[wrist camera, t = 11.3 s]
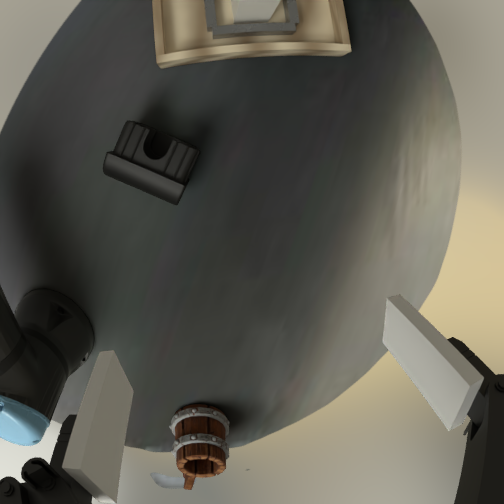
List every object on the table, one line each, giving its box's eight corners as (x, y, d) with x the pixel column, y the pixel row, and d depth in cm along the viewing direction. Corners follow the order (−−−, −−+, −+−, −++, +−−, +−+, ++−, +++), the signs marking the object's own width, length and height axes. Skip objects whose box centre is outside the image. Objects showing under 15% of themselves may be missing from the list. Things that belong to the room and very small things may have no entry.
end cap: (113, 170, 38) (96, 177, 32) (134, 120, 36) (120, 118, 30) (180, 199, 41) (174, 211, 35) (203, 150, 39) (201, 153, 33)
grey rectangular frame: (207, 40, 33) (207, 35, 31) (202, -13, 30) (202, -19, 28) (296, 35, 34) (300, 30, 32) (288, -16, 30) (292, -22, 29)
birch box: (161, 68, 34) (156, 63, 31) (154, -28, 28) (150, -39, 25) (341, 56, 36) (351, 51, 33) (324, -35, 30) (332, -45, 27)
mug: (241, 407, 56) (244, 476, 43) (215, 436, 62) (214, 495, 49) (182, 393, 53) (175, 466, 40) (164, 424, 59) (157, 485, 46)
